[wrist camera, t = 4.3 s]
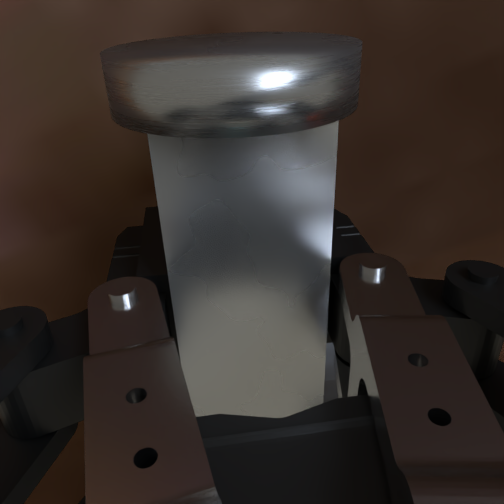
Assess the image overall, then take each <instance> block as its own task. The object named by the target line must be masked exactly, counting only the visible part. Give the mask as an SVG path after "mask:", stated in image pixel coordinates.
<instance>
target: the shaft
mask: <svg viewBox="0 0 504 504" xmlns="http://www.w3.org/2000/svg"><path fill="white" fill-rule="evenodd" d="M361 55H362V41H361V40H360V39H358V38H354V37H350V36H344V35H337V34H326V33H309V32H241V33H219V34H202V35H189V36H178V37H168V38H159V39H151V40H144V41H137V42H131V43H126V44H121V45H117V46H113V47H110V48H107V49H104V50H103V51H101V52H100V57H101V62H102V68H103V74H104V79H105V85H106V90H107V96H108V101H109V107H110V112H111V117H112V120H114V121H115V122H116V123H117V124H119V125H120V126H122V127H125V128H128V129H130V130H134V131H138V132H142V133H147V135H148V142H149V148H150V155H151V162H152V169H153V176H154V183H155V189H156V196H157V203H158V210H159V217H160V224H161V231H162V237H163V244H164V251H165V258H166V265H167V272H168V279H169V285H170V292H171V299H172V306H173V313H174V320H175V326H176V333H177V340H178V347H179V354H180V361H181V366H182V370H183V373H184V377H185V380H186V384H187V388H188V391H189V395H190V398H191V402H192V405H193V409H194V413H195V416H196V417H199V416H207V415H214V414H230V415H243V416H256V417H270V418H283V417H287V416H290V415H293V414H296V413H298V412H301V411H304V410H306V409H309V408H312V407H315V406H317V405H320V404H323V397H324V379H325V360H326V342H327V324H328V306H329V287H330V269H331V251H332V233H333V214H334V196H335V178H336V160H337V141H338V123H339V120H341V119H343V118H345V117H347V116H349V115H351V114H352V113H353V112H354V111H355V110H356V109H357V107H358V96H359V82H360V68H361Z"/></svg>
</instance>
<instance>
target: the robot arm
mask: <svg viewBox="0 0 504 504" xmlns="http://www.w3.org/2000/svg"><path fill="white" fill-rule="evenodd" d="M503 341H504V268H503V267H501V266H498V265H495V264H492V263H488V262H483V261H475V260H466V261H459V262H456V263H453V264H451V265H450V266H449V267H448V268H447V270H446V274H445V279H444V280H433V279H421V278H413V277H409V276H408V274H407V272H406V270H405V268H404V266H403V265H402V264H401V263H400V262H399V261H397V260H396V259H394V258H392V257H389V256H386V255H382V254H377V253H374V252H373V250H372V249H371V248H370V246H369V245H368V243H367V242H366V241H365V239H364V238H363V237H362V235H360V234H359V231H358V230H357V229H356V227H354V224H353V223H352V222H351V220H350V219H349V218H348V216H347V215H345V214H343V213H341V212H339V211H337V210H336V209H334V214H333V233H332V251H331V269H330V287H329V306H328V324H327V342H326V343H333V345H334V360H333V365H334V372H335V378H336V385H337V392H338V398H336V399H333V400H331V401H328V402H325V403H323V404H320V405H317V406H315V407H312V408H309V409H306V410H304V411H301V412H298V413H296V414H293V415H290V416H287V417H283V418H270V417H256V416H243V415H230V414H214V415H207V416H199V417H196V416H195V413H194V409H193V405H192V402H191V398H190V395H189V391H188V388H187V384H186V380H185V377H184V373H183V370H182V366H181V363H180V354H179V347H178V340H177V333H176V326H175V320H174V313H173V306H172V299H171V292H170V285H169V279H168V272H167V265H166V258H165V251H164V244H163V237H162V231H161V224H160V217H159V210H158V207H146V210H145V217H144V224H143V226H134V227H127V228H126V229H125V230H124V231H123V232H122V233H121V234H120V235H119V236H118V237H117V240H116V244H115V250H114V253H113V258H112V261H111V265H110V269H109V273H108V278H107V282H105V283H103V284H101V285H100V286H98V287H97V288H95V289H94V290H93V291H92V292H91V294H90V295H89V298H88V308H87V309H86V310H84V311H82V312H79V313H77V314H74V315H72V316H68V317H65V318H62V319H58V320H55V321H52V322H49V323H48V320H47V317H46V314H45V313H44V312H43V311H42V310H41V309H38V308H35V307H30V306H19V307H12V308H7V309H4V310H0V504H24V502H25V501H26V500H27V498H28V497H29V495H30V494H31V493H32V491H33V490H34V489H35V487H36V486H37V484H38V483H39V482H40V480H41V479H42V477H43V476H44V475H45V473H46V472H47V471H48V469H49V468H50V466H51V465H52V464H53V462H54V461H55V460H56V458H57V457H58V455H59V454H60V453H61V451H62V450H63V449H64V447H65V446H66V444H67V443H68V442H69V440H70V439H71V438H72V436H73V435H74V433H75V431H76V429H77V426H78V422H80V421H82V420H84V442H85V496H84V498H83V499H82V500H81V501H80V502H79V503H78V504H504V363H503V362H501V361H500V360H498V358H499V355H500V352H501V348H502V345H503Z"/></svg>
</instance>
